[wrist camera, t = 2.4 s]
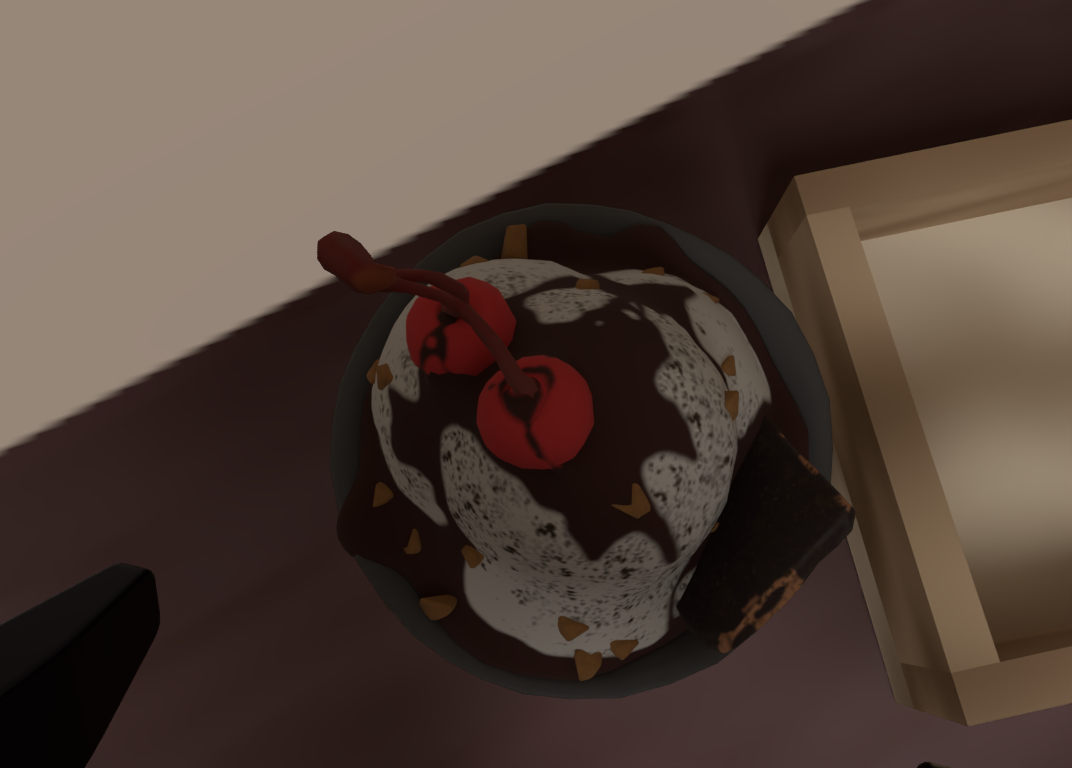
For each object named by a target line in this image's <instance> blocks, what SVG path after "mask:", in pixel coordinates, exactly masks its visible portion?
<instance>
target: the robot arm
mask: <svg viewBox="0 0 1072 768" xmlns="http://www.w3.org/2000/svg"><path fill="white" fill-rule="evenodd" d="M159 624H160V611H159V603H158V596H157V589H156V581H155V576H154V574H153V573H152V572H151V570H148V569H146V568H142V567H138V566H134V565H130V564H125V563H118V564H114V565H112V566H109V567H107V568H106V569H104V570H102V571H100V572H98V573H96V574H94V575H92V576H90V577H89V578H87V579H85V580H83V581H81V582H79V583H77V584H75V585H73V586H72V587H70V588H68V589H66V590H64V591H62V592H60V593H58V594H57V595H55V596H53V597H51V598H49V599H47V600H45V601H43V602H41V603H40V604H38V605H36V606H34V607H32V608H30V609H28V610H26V611H25V612H23V613H21V614H19V615H17V616H15V617H13V618H11V619H9V620H8V621H6V622H4V623H2V624H0V768H85V766H86V765H87V763H88V761H89V760H90V758H91V757H92V755H93V753H94V751H95V750H96V748H97V746H98V744H99V742H100V741H101V739H102V737H103V735H104V733H105V731H106V730H107V728H108V726H109V724H110V722H111V720H112V718H113V716H114V714H115V713H116V711H117V709H118V707H119V705H120V703H121V701H122V699H123V697H124V695H125V694H126V692H127V690H128V688H129V686H130V684H131V682H132V680H133V678H134V677H135V675H136V673H137V671H138V669H139V667H140V665H141V663H142V661H143V659H144V658H145V656H146V654H147V652H148V650H149V648H150V646H151V644H152V642H153V641H154V639H155V636H156V634H157V631H158V628H159ZM917 768H951V767H947V766H943V765H939V764H935V763H931V762H924V763H922V764H920V765H919V766H918V767H917Z"/></svg>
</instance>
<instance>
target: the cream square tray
mask: <svg viewBox="0 0 1072 768" xmlns="http://www.w3.org/2000/svg"><path fill="white" fill-rule="evenodd" d="M758 241H759V245H760V248H761V251H762V255H763V258H764V261H765V265H766V268H767V271H768V275H769V278H770V282H771V285H772V288H773V292H774V294H775V295H776V296H777V297H778V298H779V299H780V300H781V301H782V302H783V303H784V304H785V305H786V306H787V308H788V309H789V310H790V311H791V312H792V313H793V315H794V317H795V319H796V321H797V323H798V325H799V327H800V328H801V330H802V332H803V334H804V336H805V338H806V340H807V342H808V343H809V345H810V347H811V349H812V351H813V353H814V355H815V358H816V361H817V364H818V367H819V370H820V373H821V376H822V378H823V381H824V384H825V387H826V390H827V393H828V396H829V399H830V411H831V425H832V440H833V458H832V475H831V484H832V485H833V486H834V488H835V489H836V490H837V491H838V492H839V493H840V494H841V495H842V496H843V497H844V498H845V499H846V500H847V501H848V502H849V503H850V504H851V506H852V507H853V508H854V509H855V510H856V515H855V520H854V525H853V530H852V531H851V532H850V533H849V534H848V536H847V540H848V543H849V547H850V550H851V553H852V557H853V560H854V563H855V567H856V570H857V573H858V577H859V580H860V584H861V587H862V590H863V594H864V597H865V600H866V604H867V607H868V610H869V614H870V617H871V620H872V624H873V627H874V631H875V634H876V637H877V641H878V644H879V647H880V651H881V654H882V657H883V661H884V664H885V667H886V671H887V674H888V677H889V681H890V684H891V688H892V691H893V694H894V698H895V701H896V703H898V704H901V705H905V706H908V707H911V708H914V709H917V710H920V711H923V712H926V713H929V714H932V715H935V716H938V717H941V718H944V719H947V720H950V721H953V722H956V723H959V724H963V725H966V726H971V725H976V724H980V723H985V722H989V721H994V720H998V719H1003V718H1007V717H1011V716H1016V715H1020V714H1025V713H1029V712H1034V711H1038V710H1043V709H1047V708H1051V707H1056V706H1060V705H1065V704H1069V703H1072V120H1067V121H1062V122H1057V123H1052V124H1047V125H1042V126H1037V127H1032V128H1027V129H1022V130H1018V131H1013V132H1008V133H1003V134H998V135H993V136H988V137H983V138H978V139H973V140H969V141H964V142H959V143H954V144H949V145H944V146H939V147H934V148H929V149H924V150H920V151H915V152H910V153H905V154H900V155H895V156H890V157H885V158H880V159H875V160H871V161H866V162H861V163H856V164H851V165H846V166H841V167H836V168H831V169H826V170H821V171H817V172H812V173H807V174H802V175H797V176H794V177H793V179H792V181H791V182H790V184H789V186H788V188H787V189H786V191H785V193H784V194H783V196H782V198H781V200H780V201H779V203H778V205H777V207H776V208H775V210H774V212H773V214H772V215H771V217H770V219H769V221H768V222H767V224H766V226H765V227H764V229H763V231H762V233H761V234H760V236H759V238H758Z"/></svg>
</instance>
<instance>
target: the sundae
mask: <svg viewBox="0 0 1072 768" xmlns="http://www.w3.org/2000/svg"><path fill="white" fill-rule="evenodd" d="M317 248H318V249H317V255H318V256H317V259H318V261H319V262H320V264H321V265H322V267H323V268H324V270H326V271H328V272H330V273H332V274H334V275H335V276H336V277H337V278H339V279H340V280H341V281H342V282H343V283H344V284H346V285H347V286H348V287H349V288H350V289H352V290H353V291H355V292H358V293H363V294H368V295H369V294H372V293H375V292H390V294H389V295H388V296H387V298H386V299H385V301H384V302H383V303H382V305H381V306H380V308H379V309H378V310H377V312H376V313H375V315H374V316H373V317H372V319H371V321H370V323H369V324H368V326H367V328H366V330H365V332H364V333H363V335H362V337H361V339H360V340H359V342H358V344H357V346H356V347H355V350H354V352H353V354H352V356H351V359H350V361H349V363H348V366H347V368H346V370H345V373H344V375H343V377H342V380H341V382H340V386H339V391H338V396H337V401H336V406H335V411H334V416H333V423H332V437H331V451H330V465H329V466H330V471H331V476H332V481H333V486H334V491H335V496H336V501H337V506H338V511H339V515H338V520H337V527H336V529H337V535H338V539H339V541H340V543H341V544H342V546H343V548H344V549H345V550H346V551H347V552H348V553H349V554H350V555H351V556H353V557H355V560H356V562H357V563H358V565H359V566H360V568H361V569H362V570H363V572H364V573H365V575H366V576H367V578H368V579H369V581H370V582H371V584H372V585H373V587H374V588H375V590H376V591H377V593H378V594H379V596H380V597H381V598H382V600H383V601H384V603H385V604H386V605H387V606H388V607H389V609H390V610H391V611H392V612H393V613H394V614H395V615H396V617H397V618H398V619H399V620H400V621H401V622H402V623H403V625H404V626H405V627H406V628H407V629H408V630H409V631H410V633H411V634H412V635H413V636H415V637H416V638H417V639H419V640H420V641H421V642H423V643H424V644H425V645H427V646H428V647H429V648H431V649H432V650H433V651H435V652H436V653H437V654H439V655H440V656H441V657H443V658H444V659H445V660H447V661H448V662H450V663H452V664H454V665H456V666H458V667H460V668H462V669H463V670H465V671H467V672H469V673H471V674H473V675H475V676H477V677H478V678H480V679H482V680H485V681H488V682H491V683H494V684H496V685H499V686H502V687H505V688H508V689H511V690H514V691H517V692H520V693H522V694H529V695H538V696H547V697H556V698H564V699H590V698H622V697H625V696H629V695H632V694H636V693H640V692H643V691H647V690H650V689H654V688H658V687H661V686H665V685H668V684H671V683H674V682H676V681H678V680H680V679H683V678H685V677H687V676H689V675H692V674H694V673H696V672H699V671H701V670H703V669H705V668H708V667H710V666H712V665H714V664H717V663H718V662H720V661H721V660H722V659H723V658H724V657H726V656H727V655H728V654H729V653H731V652H732V651H733V650H734V649H736V648H737V647H738V646H739V645H740V644H742V643H743V642H744V641H745V640H747V639H748V638H749V637H750V636H751V635H753V634H754V633H755V632H756V631H757V630H758V629H759V628H760V627H762V626H763V625H764V624H765V623H766V622H767V621H768V620H769V619H770V618H771V617H772V616H773V615H774V614H775V613H776V612H777V611H779V610H780V609H781V608H782V607H783V606H784V605H785V604H786V603H787V602H788V600H789V599H790V598H791V597H792V596H793V595H794V593H795V592H796V591H797V590H798V589H799V588H800V587H801V585H802V584H803V583H804V582H805V580H806V579H807V578H808V576H809V575H810V573H811V572H812V571H813V569H814V568H815V567H816V565H817V564H818V563H819V562H820V561H821V560H822V559H823V558H824V557H825V556H827V555H828V554H829V553H830V552H831V551H832V550H834V549H835V548H836V547H837V546H838V545H839V544H840V543H841V542H842V541H843V540H844V539H845V538H846V537H847V536H848V534H849V533H850V532H851V531H852V530H853V525H854V520H855V515H856V510H855V509H854V508H853V507H852V506H851V504H850V503H849V502H848V501H847V500H846V499H845V498H844V497H843V496H842V495H841V494H840V493H839V492H838V491H837V490H836V489H835V488H834V486H833V485H832V484H831V475H832V458H833V440H832V425H831V411H830V399H829V396H828V393H827V390H826V387H825V384H824V381H823V378H822V376H821V373H820V370H819V367H818V364H817V361H816V358H815V355H814V353H813V351H812V349H811V347H810V345H809V343H808V342H807V340H806V338H805V336H804V334H803V332H802V330H801V328H800V327H799V325H798V323H797V321H796V319H795V317H794V315H793V313H792V312H791V311H790V310H789V309H788V308H787V306H786V305H785V304H784V303H783V302H782V301H781V300H780V299H779V298H778V297H777V296H776V295H775V294H774V293H773V292H772V291H771V290H770V289H769V288H768V286H767V285H766V284H765V283H764V282H763V281H762V280H761V279H760V278H759V277H757V276H756V275H755V274H754V273H753V272H751V271H750V270H749V269H748V268H746V267H745V266H744V265H743V264H741V263H740V262H739V261H738V260H736V259H735V258H734V257H733V256H731V255H730V254H728V253H726V252H725V251H723V250H721V249H719V248H717V247H715V246H713V245H712V244H710V243H708V242H706V241H704V240H702V239H701V238H699V237H697V236H694V235H692V234H690V233H688V232H685V231H683V230H681V229H679V228H676V227H674V226H672V225H669V224H667V223H665V222H662V221H659V220H656V219H653V218H650V217H647V216H645V215H642V214H639V213H636V212H633V211H630V210H625V209H619V208H612V207H606V206H600V205H593V204H565V203H545V204H540V205H536V206H532V207H528V208H523V209H519V210H515V211H511V212H506V213H502V214H500V215H497V216H495V217H493V218H490V219H488V220H485V221H483V222H480V223H478V224H475V225H473V226H470V227H468V228H465V229H463V230H460V231H459V232H458V233H456V234H455V235H454V236H452V237H451V238H450V239H448V240H447V241H446V242H444V243H443V244H442V245H440V246H439V247H438V248H436V249H435V250H434V251H432V252H431V253H430V254H428V255H427V256H426V257H424V258H423V259H422V260H421V261H420V262H419V263H418V264H417V265H416V266H415V267H414V268H413V269H407V268H398V269H395V268H394V267H390V266H386V265H382V264H378V263H375V262H374V260H373V259H372V257H371V255H370V254H369V253H368V252H367V250H366V249H365V248H364V247H363V246H362V244H361V243H359V242H358V241H357V240H355V239H354V238H352V237H351V236H350V235H349V234H345V233H341V232H336V231H334V232H331V233H330V234H328V235H326V236H324V237H323V238H322V239H320V240H319V241H318V247H317Z"/></svg>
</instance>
